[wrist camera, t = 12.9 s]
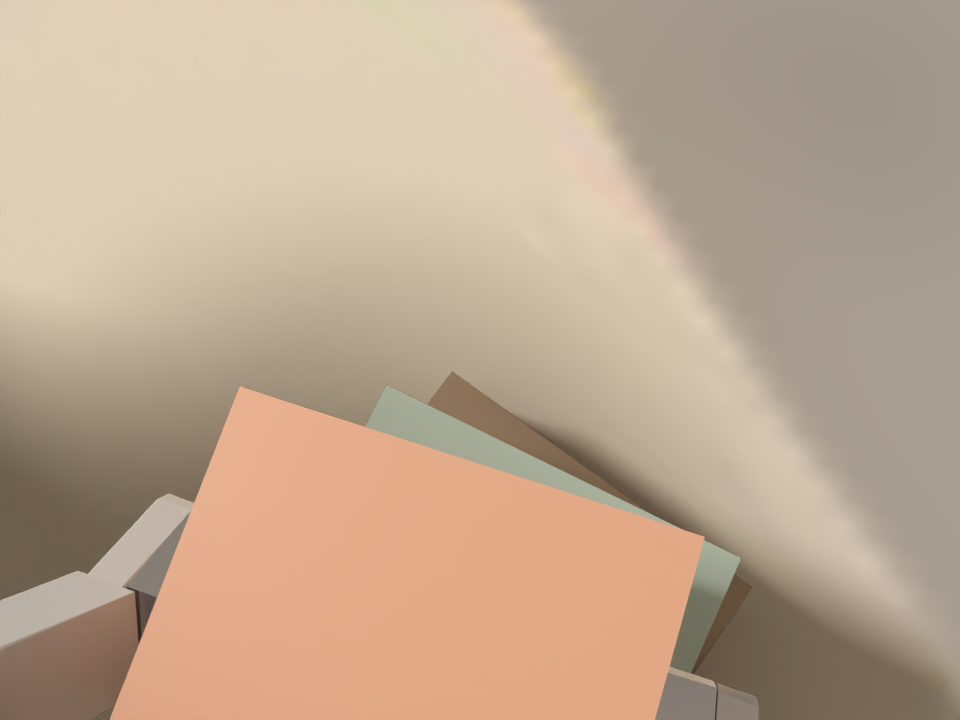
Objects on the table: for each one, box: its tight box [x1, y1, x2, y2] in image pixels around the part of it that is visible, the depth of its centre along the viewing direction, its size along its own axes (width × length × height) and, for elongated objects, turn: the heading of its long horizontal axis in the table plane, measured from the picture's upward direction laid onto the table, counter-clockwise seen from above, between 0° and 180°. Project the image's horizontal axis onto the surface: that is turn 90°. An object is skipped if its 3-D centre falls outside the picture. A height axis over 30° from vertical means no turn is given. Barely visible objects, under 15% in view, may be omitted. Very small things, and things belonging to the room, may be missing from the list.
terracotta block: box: [110, 387, 705, 720], centre depth 12 cm, size 5×5×8 cm
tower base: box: [427, 372, 752, 674], centre depth 23 cm, size 9×9×4 cm
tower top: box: [365, 385, 741, 673], centre depth 19 cm, size 8×8×4 cm
